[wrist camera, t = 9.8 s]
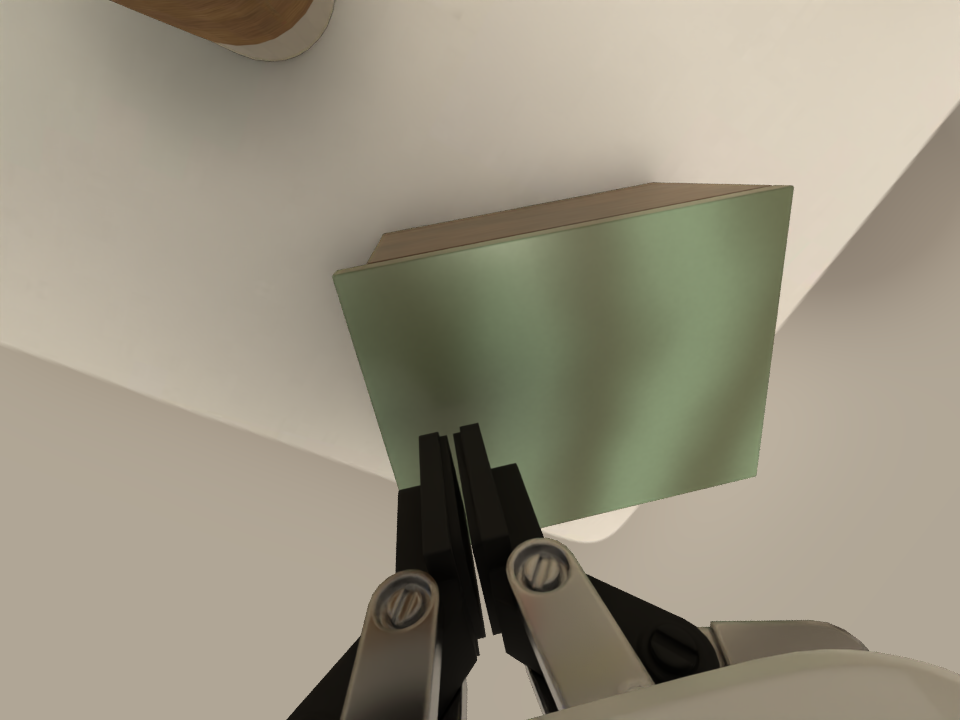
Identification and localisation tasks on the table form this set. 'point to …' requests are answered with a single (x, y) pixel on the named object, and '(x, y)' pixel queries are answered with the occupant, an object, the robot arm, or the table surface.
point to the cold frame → (544, 217)
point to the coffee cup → (245, 23)
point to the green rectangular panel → (584, 350)
